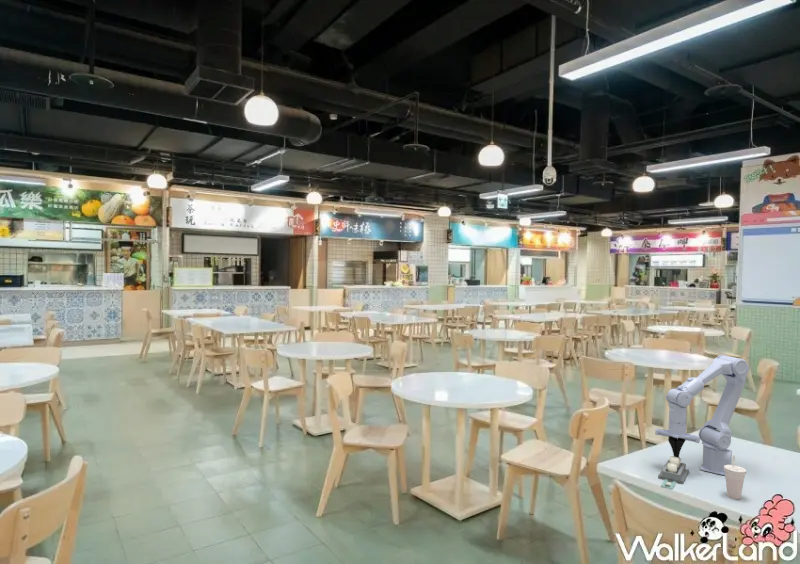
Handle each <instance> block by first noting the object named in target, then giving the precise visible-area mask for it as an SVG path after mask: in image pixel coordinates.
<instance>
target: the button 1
mask: <svg viewBox="0 0 800 564" xmlns="http://www.w3.org/2000/svg"><path fill="white" fill-rule="evenodd" d="M667 472H671V473H676V474H677V465H676V464H674V463H668V466H667Z"/></svg>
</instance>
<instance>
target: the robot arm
mask: <svg viewBox="0 0 800 564" xmlns="http://www.w3.org/2000/svg"><path fill="white" fill-rule="evenodd" d="M749 371H750V367H749V364H748V362H747V361H746V360H745V359H744V358H738V357H734V356H728V355H725V354H719V355H718V356H717V357H716V358H713V360H712V363H711V364H709V366H708V367H707V368H706V369H704V370H703V371H702V372H700V373H699V375H698V376H697V377H688V378H687V379H686V380H685V382H682V384H681V385H678V386H677V387H676V388H672V389H670V390H668V392H667V393H666V395H665V400H666V401H667V404H668V407H669V408H668V409H669V411H668V429H661V428H655V434H654V435H656V436H661V437H668V439H667V441H668V443H669V445H670V447H671V450H672V454H673V456H674V457H678V458H679V457H680V453H681V450H682V448H683V446H684V444H685V442H686V441H689V442H693V443H695V444H699V443H700V441H701V444H702V445H703V446H702V463H701V466H700V468H699V469H700V471H704V472H707V473H713V474H717V475H721V476H725V470H724V465H732V463H733V452H732V449H728V448H729V447H730V446H731V443H732V436H733V432H732V430H731V428H730V426H729V424H730V422H731V420H732V418H733V415H734V412H735V411H736V407H737V405H738V403H739V400H740V398H741V395H742V392H743V391H744V387H745V386H746V382H747V381H746V380H747V375H748V373H749ZM720 375H722V376H723V377H724V378H725V380H726V384H725V386H724V389H723V391H722V394H721V396H720V399H719V401H718V404H717V406H716V408H715V411H714V413H713V416H712V418H711V419H709V420H707V421H705V422H704V425H703V426H702V427H700V429H699V431H698V435H694V434H689V433H687V412H688V411H687V409H688V408H687V407H688V406H690V404H692V403H691V402H692V400H693V399H694V397H696V396H697V395H698V394H699V393H701V392H702V391H703V390H704V389H705V385H706V384H707V383H709V382H710V381H712V380H714V379H715V378H717V377H718V376H720Z"/></svg>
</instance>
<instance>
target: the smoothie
mask: <svg viewBox="0 0 800 564" xmlns="http://www.w3.org/2000/svg"><path fill="white" fill-rule="evenodd" d="M735 461H736V455H735V454H732V464H731V465H724V470H725V475H724V476H725V484H726V485H725V486H726V496H727V497H728V498H731V499H733V500H734V499H735V500H741V498H742V493H743V488H744V487H743V486H744V483H745V475H747V470H746V469H745V468H744V467H742V466H739V465H735V464H736V463H735Z"/></svg>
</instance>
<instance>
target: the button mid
mask: <svg viewBox="0 0 800 564" xmlns="http://www.w3.org/2000/svg"><path fill="white" fill-rule="evenodd" d="M669 460H670V463H674V464H676V465H677V470H679V458H678V457H674V455H672V456H669Z"/></svg>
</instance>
